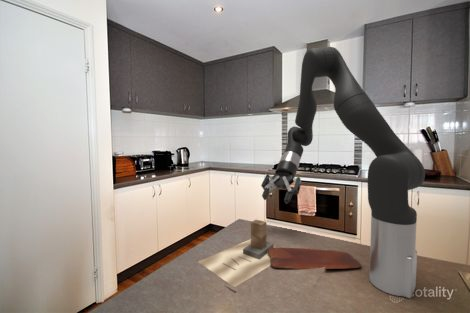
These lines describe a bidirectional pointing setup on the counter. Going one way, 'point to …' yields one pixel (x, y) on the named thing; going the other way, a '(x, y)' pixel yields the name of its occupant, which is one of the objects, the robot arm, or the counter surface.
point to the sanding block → (258, 240)
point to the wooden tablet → (310, 258)
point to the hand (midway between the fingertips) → (274, 200)
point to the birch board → (235, 264)
